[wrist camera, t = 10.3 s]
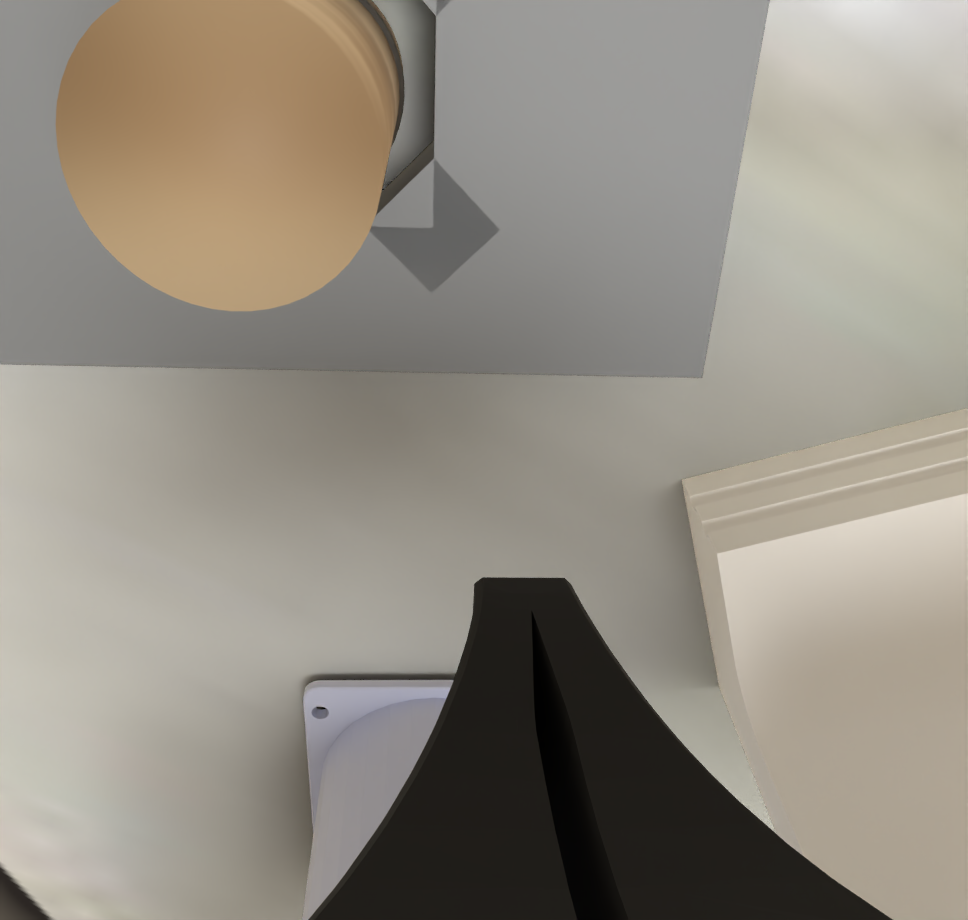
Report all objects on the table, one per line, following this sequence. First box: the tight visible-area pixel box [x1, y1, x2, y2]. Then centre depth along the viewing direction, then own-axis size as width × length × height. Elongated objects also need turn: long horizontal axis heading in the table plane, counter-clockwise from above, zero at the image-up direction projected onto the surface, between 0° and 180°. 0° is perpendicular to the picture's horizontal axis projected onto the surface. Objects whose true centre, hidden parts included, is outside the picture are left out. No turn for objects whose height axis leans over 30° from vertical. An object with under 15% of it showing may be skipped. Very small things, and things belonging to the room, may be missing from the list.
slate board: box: [0, 0, 770, 378], centre depth 18 cm, size 12×18×2 cm, turn 87°
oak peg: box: [56, 0, 404, 311], centre depth 15 cm, size 4×4×9 cm
